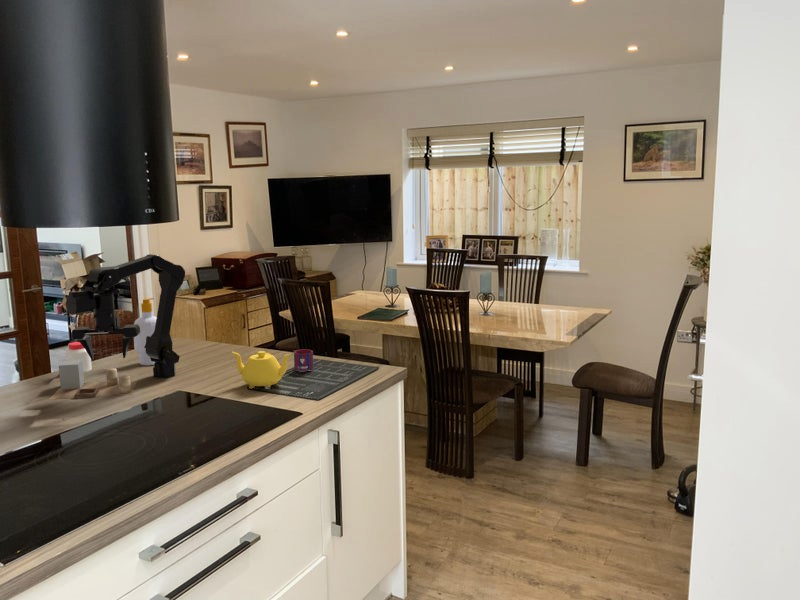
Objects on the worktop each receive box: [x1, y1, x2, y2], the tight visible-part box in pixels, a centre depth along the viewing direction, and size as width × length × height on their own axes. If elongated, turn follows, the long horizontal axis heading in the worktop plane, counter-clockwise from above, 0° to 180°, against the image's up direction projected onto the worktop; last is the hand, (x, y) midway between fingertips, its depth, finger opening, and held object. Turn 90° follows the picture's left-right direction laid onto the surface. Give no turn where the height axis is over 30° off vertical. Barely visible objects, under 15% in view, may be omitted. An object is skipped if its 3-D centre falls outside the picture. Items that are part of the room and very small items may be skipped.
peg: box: [105, 367, 119, 386], centre depth 206 cm, size 3×3×5 cm
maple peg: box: [118, 374, 131, 394], centre depth 198 cm, size 3×3×5 cm
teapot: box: [231, 350, 292, 388], centre depth 211 cm, size 20×15×12 cm
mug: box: [293, 348, 314, 371], centre depth 230 cm, size 7×10×7 cm
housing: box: [58, 360, 85, 389], centre depth 203 cm, size 6×6×8 cm
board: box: [48, 379, 140, 401], centre depth 201 cm, size 23×16×3 cm
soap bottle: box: [133, 297, 157, 367], centre depth 235 cm, size 10×10×24 cm
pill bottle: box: [64, 341, 93, 373], centre depth 222 cm, size 8×8×11 cm
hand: (108, 358), depth 198 cm, fingers open, 9 cm apart
